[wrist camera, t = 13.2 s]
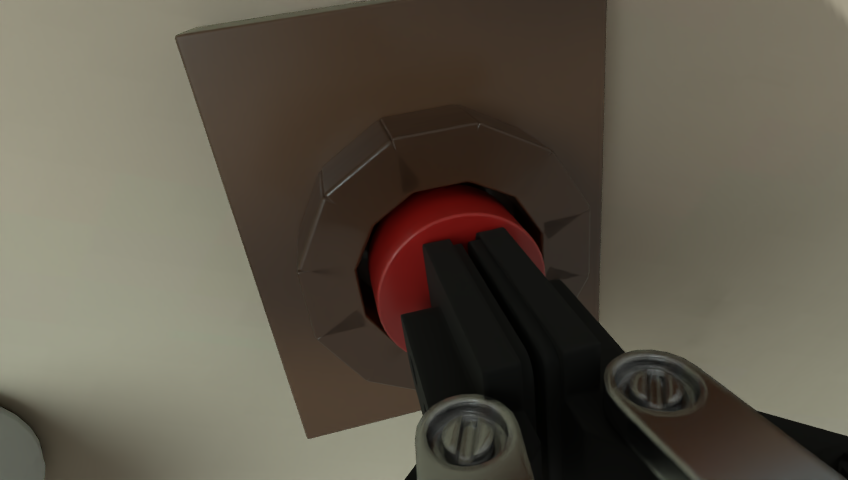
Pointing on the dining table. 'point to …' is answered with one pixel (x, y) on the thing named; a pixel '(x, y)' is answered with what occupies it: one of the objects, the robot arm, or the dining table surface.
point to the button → (424, 223)
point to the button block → (395, 160)
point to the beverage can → (19, 450)
